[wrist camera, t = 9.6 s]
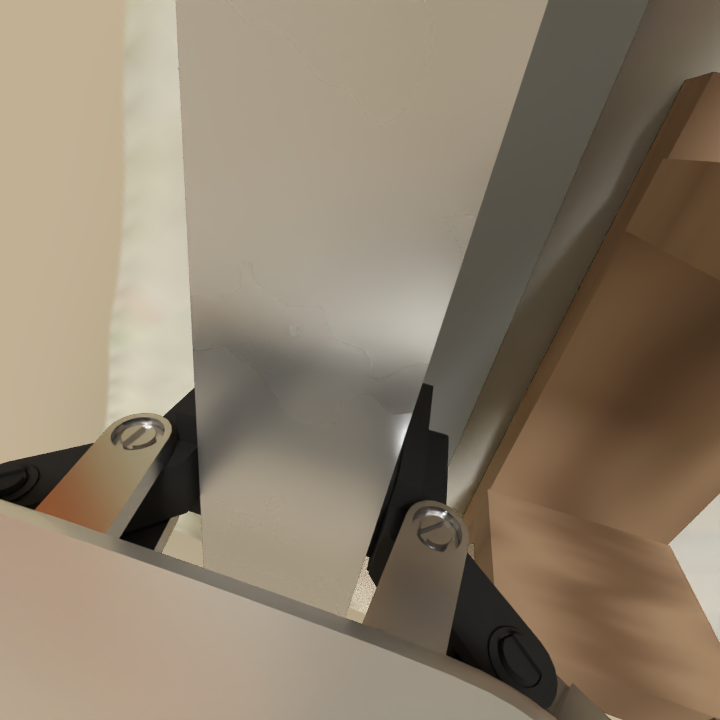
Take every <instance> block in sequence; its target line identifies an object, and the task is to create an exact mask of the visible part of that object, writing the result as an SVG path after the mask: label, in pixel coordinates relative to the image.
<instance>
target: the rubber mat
mask: <svg viewBox="0 0 720 720" xmlns="http://www.w3.org/2000/svg"><path fill="white" fill-rule="evenodd" d="M649 1H650V0H548V3H547V6H546V9H545V12H544V15H543V18H542V21H541V24H540V27H539V30H538V33H537V36H536V39H535V42H534V45H533V49H532V52H531V55H530V58H529V61H528V64H527V67H526V70H525V73H524V76H523V79H522V82H521V85H520V88H519V91H518V94H517V97H516V100H515V103H514V106H513V109H512V112H511V115H510V118H509V122H508V125H507V128H506V131H505V134H504V137H503V140H502V143H501V146H500V149H499V152H498V155H497V158H496V161H495V164H494V167H493V170H492V173H491V176H490V179H489V182H488V185H487V188H486V191H485V195H484V198H483V201H482V204H481V207H480V210H479V213H478V216H477V219H476V222H475V225H474V228H473V231H472V234H471V237H470V240H469V243H468V246H467V249H466V252H465V255H464V258H463V261H462V264H461V268H460V271H459V274H458V277H457V280H456V283H455V286H454V289H453V292H452V295H451V298H450V301H449V304H448V307H447V310H446V313H445V316H444V319H443V322H442V325H441V328H440V331H439V334H438V337H437V341H436V344H435V347H434V350H433V353H432V356H431V359H430V362H429V365H428V368H427V371H426V374H425V377H424V380H423V383H425V384H429V385H432V386H433V396H432V405H431V415H430V424H429V430H432V431H436V432H439V433H443V434H446V435H448V437H449V447H448V466H449V464H450V461H451V459H452V457H453V454H454V452H455V450H456V447H457V445H458V443H459V441H460V438H461V436H462V434H463V431H464V429H465V427H466V424H467V422H468V420H469V417H470V415H471V413H472V410H473V408H474V406H475V403H476V401H477V399H478V397H479V394H480V392H481V390H482V387H483V385H484V383H485V380H486V378H487V376H488V373H489V371H490V369H491V366H492V364H493V362H494V360H495V357H496V355H497V353H498V350H499V348H500V346H501V343H502V341H503V339H504V336H505V334H506V332H507V329H508V327H509V325H510V323H511V320H512V318H513V316H514V313H515V311H516V309H517V306H518V304H519V302H520V299H521V297H522V295H523V292H524V290H525V288H526V285H527V283H528V281H529V279H530V276H531V274H532V272H533V269H534V267H535V265H536V262H537V260H538V258H539V255H540V253H541V251H542V248H543V246H544V244H545V242H546V239H547V237H548V235H549V232H550V230H551V228H552V225H553V223H554V221H555V218H556V216H557V214H558V211H559V209H560V207H561V205H562V202H563V200H564V198H565V195H566V193H567V191H568V188H569V186H570V184H571V181H572V179H573V177H574V174H575V172H576V170H577V167H578V165H579V163H580V161H581V158H582V156H583V154H584V151H585V149H586V147H587V144H588V142H589V140H590V137H591V135H592V133H593V130H594V128H595V126H596V124H597V121H598V119H599V117H600V114H601V112H602V110H603V107H604V105H605V103H606V100H607V98H608V96H609V93H610V91H611V89H612V86H613V84H614V82H615V80H616V77H617V75H618V73H619V70H620V68H621V66H622V63H623V61H624V59H625V56H626V54H627V52H628V49H629V47H630V45H631V43H632V40H633V38H634V36H635V33H636V31H637V29H638V26H639V24H640V22H641V19H642V17H643V15H644V12H645V10H646V8H647V6H648V3H649Z"/></svg>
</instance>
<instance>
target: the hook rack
mask: <svg viewBox="0 0 720 720" xmlns="http://www.w3.org/2000/svg"><path fill="white" fill-rule="evenodd" d="M719 493H720V73H717V72H712V73H709V74H705V75H702V76H698V77H695V78H691V79H688V80H685V81H684V83H683V85H682V87H681V89H680V91H679V93H678V95H677V97H676V99H675V101H674V103H673V105H672V107H671V109H670V111H669V113H668V115H667V117H666V119H665V121H664V123H663V125H662V127H661V129H660V131H659V132H658V134H657V136H656V138H655V140H654V142H653V144H652V146H651V148H650V150H649V152H648V154H647V156H646V158H645V160H644V162H643V164H642V166H641V168H640V170H639V172H638V174H637V176H636V178H635V180H634V182H633V183H632V185H631V187H630V189H629V191H628V193H627V195H626V197H625V199H624V201H623V203H622V205H621V207H620V209H619V211H618V213H617V215H616V217H615V219H614V221H613V223H612V225H611V227H610V229H609V231H608V233H607V234H606V236H605V238H604V240H603V242H602V244H601V246H600V248H599V250H598V252H597V254H596V256H595V258H594V260H593V262H592V264H591V266H590V268H589V270H588V272H587V274H586V276H585V278H584V280H583V282H582V284H581V286H580V287H579V289H578V291H577V293H576V295H575V297H574V299H573V301H572V303H571V305H570V307H569V309H568V311H567V313H566V315H565V317H564V319H563V321H562V323H561V325H560V327H559V329H558V331H557V333H556V335H555V337H554V338H553V340H552V342H551V344H550V346H549V348H548V350H547V352H546V354H545V356H544V358H543V360H542V362H541V364H540V366H539V368H538V370H537V372H536V374H535V376H534V378H533V380H532V382H531V384H530V386H529V388H528V389H527V391H526V393H525V395H524V397H523V399H522V401H521V403H520V405H519V407H518V409H517V411H516V413H515V415H514V417H513V419H512V421H511V423H510V425H509V427H508V429H507V431H506V433H505V435H504V437H503V439H502V441H501V442H500V444H499V446H498V448H497V450H496V452H495V454H494V456H493V458H492V460H491V462H490V464H489V466H488V468H487V470H486V472H485V474H484V476H483V478H482V480H481V482H480V484H479V486H478V488H477V490H476V492H475V493H474V495H473V497H472V499H471V501H470V503H469V505H468V507H467V509H466V511H465V513H464V515H463V521H464V523H465V524H466V526H467V529H468V532H469V543H472V544H474V561H475V562H476V564H477V565H478V566H479V567H480V568H481V570H482V571H483V572H484V573H485V575H486V576H487V577H488V578H489V579H490V581H491V582H492V583H493V584H494V585H495V587H496V588H497V589H498V590H499V592H500V593H501V594H502V595H503V596H504V598H505V599H506V600H507V601H508V603H509V604H510V605H511V606H512V607H513V609H514V610H515V611H516V612H517V613H518V615H519V616H520V617H521V618H522V620H523V621H524V622H525V623H526V624H527V626H528V627H529V628H530V629H531V630H532V632H533V633H534V634H535V635H536V637H537V638H538V639H539V640H540V641H541V643H542V644H543V646H544V647H545V649H546V650H547V652H548V653H549V655H550V658H551V660H552V662H553V665H554V667H555V671H556V674H557V675H558V676H559V677H560V678H561V679H562V680H563V681H564V682H565V683H566V684H567V685H568V686H569V685H571V684H572V683H574V684H575V685H576V686H577V687H578V688H579V689H580V690H581V691H582V692H583V693H584V694H585V695H586V696H587V697H588V698H589V699H590V700H591V701H592V702H593V703H594V704H595V705H596V706H597V707H598V708H599V709H600V710H601V711H603V712H604V713H606V714H609V715H612V716H614V717H617V718H620V719H622V720H720V643H719V641H718V639H717V637H716V635H715V633H714V631H713V629H712V627H711V625H710V623H709V621H708V619H707V617H706V615H705V613H704V611H703V610H702V608H701V606H700V604H699V602H698V600H697V598H696V596H695V594H694V592H693V590H692V588H691V586H690V584H689V582H688V580H687V578H686V576H685V574H684V572H683V571H682V569H681V567H680V565H679V563H678V561H677V559H676V557H675V555H674V553H673V551H672V549H671V547H670V546H669V545H668V544H669V543H670V542H671V541H672V540H673V539H674V538H675V537H676V536H677V535H678V534H679V533H680V532H681V531H682V530H683V529H684V528H685V527H686V526H687V525H688V524H689V523H690V522H691V521H692V520H693V519H694V518H695V517H696V516H697V515H698V514H699V513H700V512H701V511H702V510H703V509H704V508H705V507H706V506H707V505H708V504H709V503H710V502H711V501H712V500H713V499H714V498H715V497H716V496H717V495H718V494H719Z"/></svg>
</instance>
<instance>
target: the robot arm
mask: <svg viewBox="0 0 720 720" xmlns="http://www.w3.org/2000/svg"><path fill="white" fill-rule="evenodd" d="M432 396H433V386H432V385H429V384H425V383H422V386H421V389H420V392H419V395H418V398H417V401H416V404H415V407H414V410H413V413H412V417H411V420H410V423H409V426H408V429H407V432H406V435H405V438H404V441H403V444H402V447H401V450H400V453H399V456H398V459H397V462H396V465H395V468H394V471H393V474H392V477H391V480H390V483H389V486H388V490H387V493H386V496H385V499H384V502H383V505H382V508H381V511H380V514H379V517H378V520H377V523H376V526H375V529H374V532H373V535H372V538H371V541H370V544H369V547H368V550H367V553H366V556H368V557H370V558H369V562H368V567H367V571H369V575H370V577H371V579H372V580H373V582H374V584H375V585H376V587H377V588H376V591H375V593H374V596H373V598H372V601H371V603H370V606H369V608H368V611H367V613H366V616H365V618H364V621H363V623H362V624H361V623H358V622H355V621H352V620H349V619H347V618H344V617H341V616H338V615H335V614H333V613H330V612H327V611H324V610H321V609H319V608H316V607H313V606H310V605H307V604H305V603H302V602H299V601H296V600H293V599H290V598H288V597H285V596H282V595H279V594H276V593H274V592H271V591H268V590H265V589H262V588H259V587H257V586H254V585H251V584H248V583H245V582H242V581H239V580H237V579H234V578H231V577H228V576H225V575H222V574H219V573H217V572H214V571H211V570H208V569H205V568H202V567H199V566H196V565H193V564H190V563H188V562H185V561H182V560H179V559H176V558H173V557H171V556H168V555H165V554H162V551H163V549H164V547H165V545H166V543H167V541H168V539H169V537H170V535H171V533H172V531H173V529H174V527H175V525H176V523H177V521H178V518H179V515H181V514H184V513H187V512H188V511H191V512H194V513H197V514H200V515H201V504H200V483H199V463H198V443H197V423H196V403H195V388H194V389H193V390H191V391H190V392H189V393H188V394H187V395H186V396H185V397H184V398H183V399H182V400H181V401H179V402H178V403H177V404H176V405H175V406H174V407H173V408H172V409H171V410H170V411H169V412H167V413H166V414H165V415H164V416H163V417H162V416H160V415H157V414H152V413H140V414H133V415H130V416H126V417H123V418H121V419H119V420H117V421H116V422H114V423H113V424H112V425H110V426H109V427H108V428H107V429H106V430H105V431H104V433H103V434H102V435H101V436H100V437H99V438H98V439H97V440H96V442H95V443H92V444H87V445H82V446H78V447H73V448H69V449H65V450H59V451H55V452H51V453H46V454H41V455H37V456H32V457H27V458H23V459H18V460H15V461H9V462H6V463H3V464H0V720H611V719H610V718H608V716H606V714H605V713H604V712H603V711H601V710H600V709H599V708H598V707H597V706H596V705H595V704H594V703H593V702H592V701H591V700H590V699H589V698H588V697H587V696H586V695H585V694H584V693H583V692H582V691H581V690H580V689H579V688H578V687H577V686H576V685H575V684H574V683H572V684H571V685H569V686H568V685H567V684H566V683H565V682H564V681H563V680H562V679H561V678H560V677H559V676H558V675H557V674H556V671H555V667H554V665H553V662H552V660H551V658H550V655H549V653H548V652H547V650H546V649H545V647H544V646H543V644H542V643H541V641H540V640H539V639H538V638H537V637H536V635H535V634H534V633H533V632H532V630H531V629H530V628H529V627H528V626H527V624H526V623H525V622H524V621H523V620H522V618H521V617H520V616H519V615H518V613H517V612H516V611H515V610H514V609H513V607H512V606H511V605H510V604H509V603H508V601H507V600H506V599H505V598H504V596H503V595H502V594H501V593H500V592H499V590H498V589H497V588H496V587H495V585H494V584H493V583H492V582H491V581H490V579H489V578H488V577H487V576H486V575H485V573H484V572H483V571H482V570H481V568H480V567H479V566H478V565H477V564H476V562H475V561H474V560H473V559H472V558H471V556H470V555H469V554H468V553H467V550H468V546H469V532H468V529H467V526H466V524H465V523H464V521H463V519H462V518H461V516H459V515H458V514H457V513H456V512H455V511H454V510H453V509H452V508H450V507H448V506H447V505H446V501H447V474H448V447H449V437H448V435H446V434H443V433H439V432H436V431H432V430H429V424H430V415H431V405H432Z"/></svg>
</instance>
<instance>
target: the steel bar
mask: <svg viewBox="0 0 720 720" xmlns="http://www.w3.org/2000/svg"><path fill="white" fill-rule="evenodd" d="M547 3H548V0H176V18H177V39H178V59H179V79H180V99H181V119H182V140H183V160H184V180H185V200H186V221H187V241H188V261H189V281H190V301H191V322H192V342H193V362H194V382H195V403H196V423H197V443H198V463H199V483H200V504H201V524H202V544H203V564H204V568H205V569H208V570H211V571H214V572H217V573H219V574H222V575H225V576H228V577H231V578H234V579H237V580H239V581H242V582H245V583H248V584H251V585H254V586H257V587H259V588H262V589H265V590H268V591H271V592H274V593H276V594H279V595H282V596H285V597H288V598H290V599H293V600H296V601H299V602H302V603H305V604H307V605H310V606H313V607H316V608H319V609H321V610H324V611H327V612H330V613H333V614H335V615H338V616H341V617H344V618H345V617H346V614H347V611H348V608H349V605H350V602H351V599H352V596H353V593H354V590H355V587H356V584H357V581H358V578H359V575H360V572H361V569H362V566H363V563H364V559H365V556H366V553H367V550H368V547H369V544H370V541H371V538H372V535H373V532H374V529H375V526H376V523H377V520H378V517H379V514H380V511H381V508H382V505H383V502H384V499H385V496H386V493H387V490H388V486H389V483H390V480H391V477H392V474H393V471H394V468H395V465H396V462H397V459H398V456H399V453H400V450H401V447H402V444H403V441H404V438H405V435H406V432H407V429H408V426H409V423H410V420H411V417H412V413H413V410H414V407H415V404H416V401H417V398H418V395H419V392H420V389H421V386H422V383H423V380H424V377H425V374H426V371H427V368H428V365H429V362H430V359H431V356H432V353H433V350H434V347H435V344H436V341H437V337H438V334H439V331H440V328H441V325H442V322H443V319H444V316H445V313H446V310H447V307H448V304H449V301H450V298H451V295H452V292H453V289H454V286H455V283H456V280H457V277H458V274H459V271H460V268H461V264H462V261H463V258H464V255H465V252H466V249H467V246H468V243H469V240H470V237H471V234H472V231H473V228H474V225H475V222H476V219H477V216H478V213H479V210H480V207H481V204H482V201H483V198H484V195H485V191H486V188H487V185H488V182H489V179H490V176H491V173H492V170H493V167H494V164H495V161H496V158H497V155H498V152H499V149H500V146H501V143H502V140H503V137H504V134H505V131H506V128H507V125H508V122H509V118H510V115H511V112H512V109H513V106H514V103H515V100H516V97H517V94H518V91H519V88H520V85H521V82H522V79H523V76H524V73H525V70H526V67H527V64H528V61H529V58H530V55H531V52H532V49H533V45H534V42H535V39H536V36H537V33H538V30H539V27H540V24H541V21H542V18H543V15H544V12H545V9H546V6H547Z"/></svg>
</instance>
